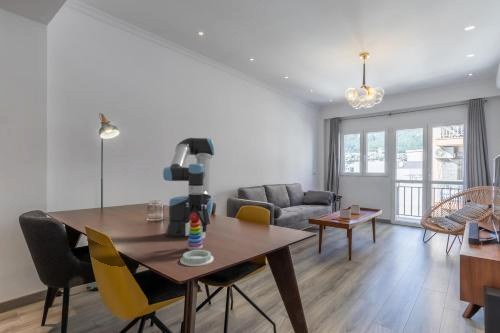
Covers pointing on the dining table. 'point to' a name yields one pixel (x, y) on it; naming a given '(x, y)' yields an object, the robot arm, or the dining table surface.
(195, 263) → the collar base
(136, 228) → the dining table surface
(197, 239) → the stacking toy
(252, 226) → the dining table surface
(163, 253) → the dining table surface
